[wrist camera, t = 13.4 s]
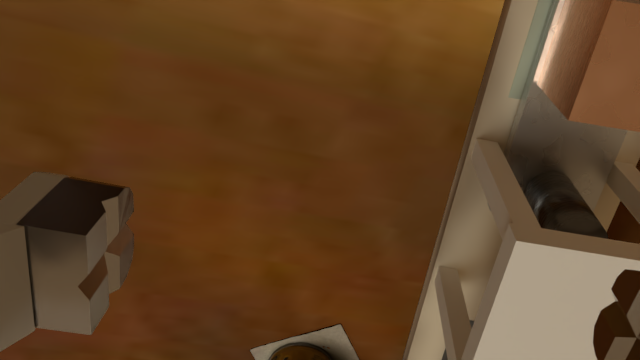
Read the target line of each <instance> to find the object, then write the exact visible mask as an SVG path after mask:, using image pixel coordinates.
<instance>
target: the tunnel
mask: <svg viewBox="0 0 640 360" xmlns="http://www.w3.org/2000/svg"><path fill="white" fill-rule="evenodd" d="M471 160H472V162H473V165H474V167H475V170H476V173H477V175H478V178H479V180H480V183H481V186H482V188H483V191H484V193H485V196H486V199H487V201H488V204H489V206H490V209H491V212H492V214H493V217H494V219H495V222H496V225H497V227H498V230H499V233H500V235H501V238H502V240H503V241H502V244H501V246H500V249H499V252H498V255H497V258H496V261H495V264H494V266H493V269H492V272H491V275H490V278H489V281H488V284H487V287H486V289H485V292H484V295H483V298H482V301H481V304H480V307H479V309H478V312H477V315H476V318H475V321H474V324H473V327H472V329H471V325H470V321H469V316H468V312H467V308H466V304H465V299H464V295H463V291H462V287H461V283H460V278H459V274H458V270H457V269H453V268H447V267H441V266H439V267H438V270H437V273H436V277H435V280H434V283H435V289H436V294H437V300H438V306H439V312H440V318H441V323H442V329H443V335H444V341H445V347H446V352H447V358H448V360H597V357H596V355H595V351H594V346H593V335H594V326H595V323H596V321H597V319H598V316H599V314H600V311H601V310H602V309H604V308H605V307H607V306H608V305H610V304H612V303H613V302H615V299H614V296H613V293H612V290H611V288H612V286H613V284H614V282H615V280H616V278H617V277H618V276H619V275H620V274H621V273H622V272H623V271H624V270H625V269H627V270H637V271H640V244H636V243H630V242H624V241H618V240H611V239H605V238H599V237H593V236H587V235H580V234H574V233H568V232H562V231H556V230H550V229H543V228H541V227H540V225H539V223H538V221H537V219H536V217H535V215H534V213H533V211H532V209H531V207H530V205H529V203H528V201H527V199H526V197H525V195H524V193H523V191H522V189H521V187H520V185H519V183H518V181H517V179H516V178H515V176H514V174H513V172H512V170H511V168H510V166H509V164H508V162H507V160H506V158H505V156H504V154H503V152H502V150H501V148H500V146H499V144H498V142H495V141H489V140H482V139H476V141H475V145H474V148H473V152H472V155H471ZM606 183H607V184H608V185H609V187H610V188H611V189H612V190H613V192H614V193H615V194H616V195H617V197H618V198H619V199H620V200H621V202H622V203H623V204H624V205H625V207H626V208H627V209H628V210H629V212H630V213H631V214H632V215H633V217H634V218H635V219H636V220H637V221H638V223H639V224H640V172H639V170H638V169H637V168H636V167H635V166H634V165H633V164H630V163H624V162H618V161H615V162H614V164H613V167H612V169H611V171H610V174H609V176H608V179H607V181H606Z"/></svg>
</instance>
